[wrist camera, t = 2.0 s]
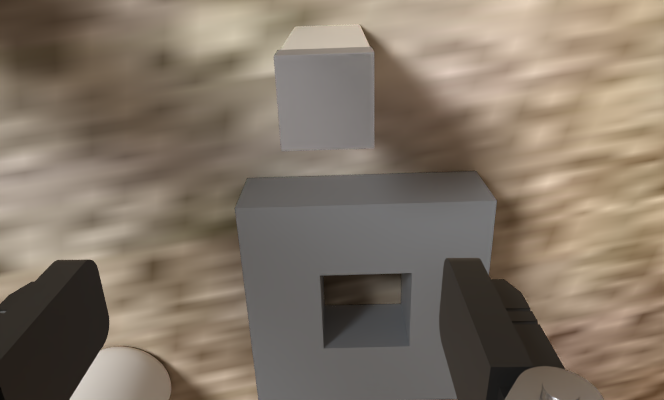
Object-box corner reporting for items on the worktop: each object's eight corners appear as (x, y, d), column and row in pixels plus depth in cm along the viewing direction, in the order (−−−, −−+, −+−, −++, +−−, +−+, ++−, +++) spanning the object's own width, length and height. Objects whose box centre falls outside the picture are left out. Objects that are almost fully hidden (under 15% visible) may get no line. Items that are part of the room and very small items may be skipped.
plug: (294, 25, 32) (273, 55, 21) (360, 23, 32) (374, 52, 21) (298, 91, 34) (281, 150, 23) (360, 89, 34) (374, 148, 23)
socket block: (247, 178, 36) (234, 208, 32) (476, 171, 36) (496, 200, 31) (266, 357, 43) (258, 403, 38) (460, 352, 42) (475, 398, 38)
